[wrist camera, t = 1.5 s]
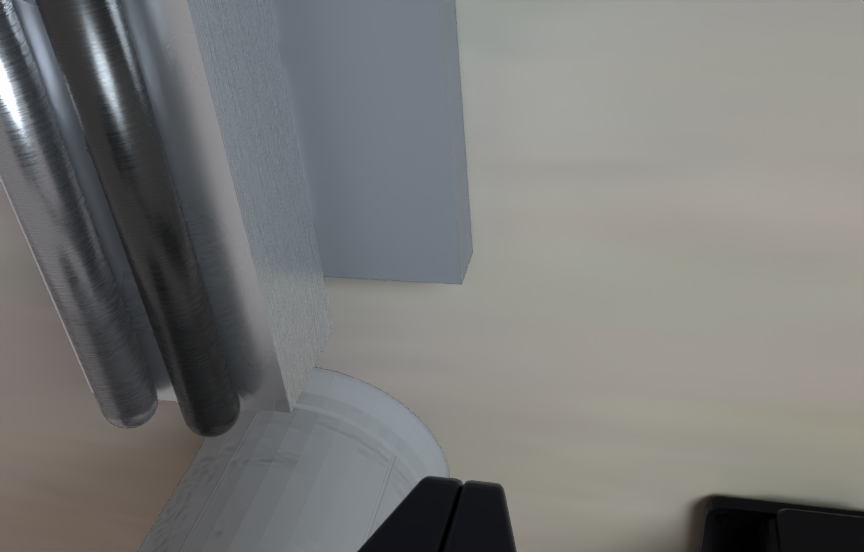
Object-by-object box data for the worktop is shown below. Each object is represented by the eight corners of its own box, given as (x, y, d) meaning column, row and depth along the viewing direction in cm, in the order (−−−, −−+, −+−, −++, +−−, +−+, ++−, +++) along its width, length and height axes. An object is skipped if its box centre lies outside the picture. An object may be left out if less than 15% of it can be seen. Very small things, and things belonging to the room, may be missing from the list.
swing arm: (-69, -445, 14) (-381, -503, 10) (200, -494, 13) (-22, -583, 8) (173, 296, 22) (64, 432, 18) (346, 307, 21) (271, 456, 17)
